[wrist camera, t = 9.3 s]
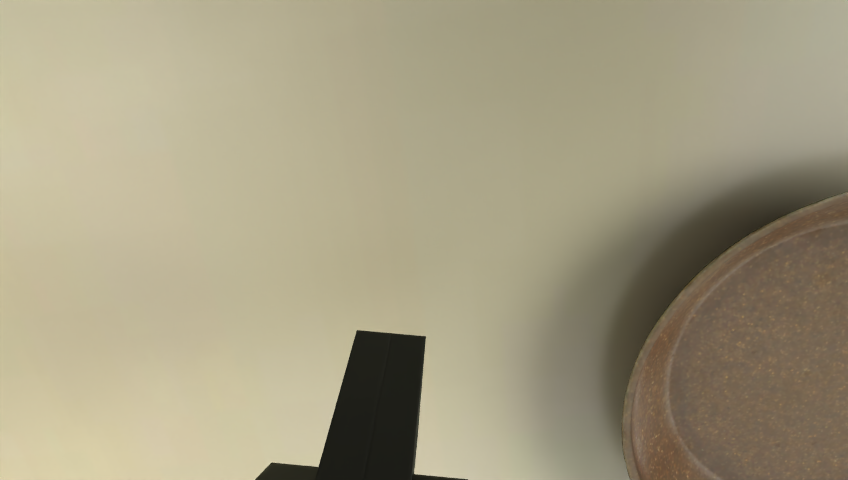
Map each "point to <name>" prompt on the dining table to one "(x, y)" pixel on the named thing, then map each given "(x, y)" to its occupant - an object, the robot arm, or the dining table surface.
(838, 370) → the saucer
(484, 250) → the dining table surface
